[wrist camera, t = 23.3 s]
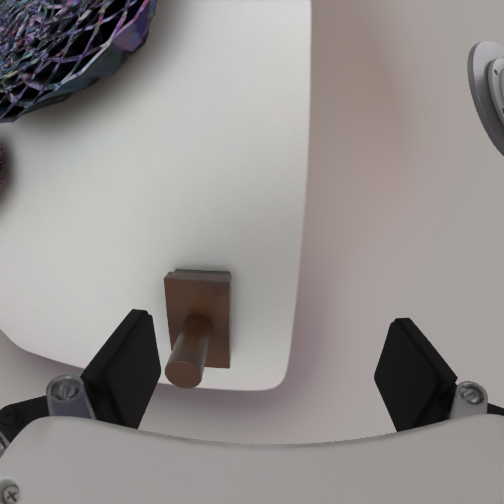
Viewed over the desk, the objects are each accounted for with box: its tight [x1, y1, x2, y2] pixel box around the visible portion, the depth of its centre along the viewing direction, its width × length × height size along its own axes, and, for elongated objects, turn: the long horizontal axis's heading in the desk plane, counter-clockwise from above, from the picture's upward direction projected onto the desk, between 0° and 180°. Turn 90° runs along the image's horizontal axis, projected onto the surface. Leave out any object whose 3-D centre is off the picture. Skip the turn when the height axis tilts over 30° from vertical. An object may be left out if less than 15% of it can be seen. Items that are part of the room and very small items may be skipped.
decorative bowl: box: [0, 0, 157, 123], centre depth 14 cm, size 26×28×10 cm
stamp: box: [164, 269, 231, 388], centre depth 22 cm, size 9×6×10 cm, turn 178°
